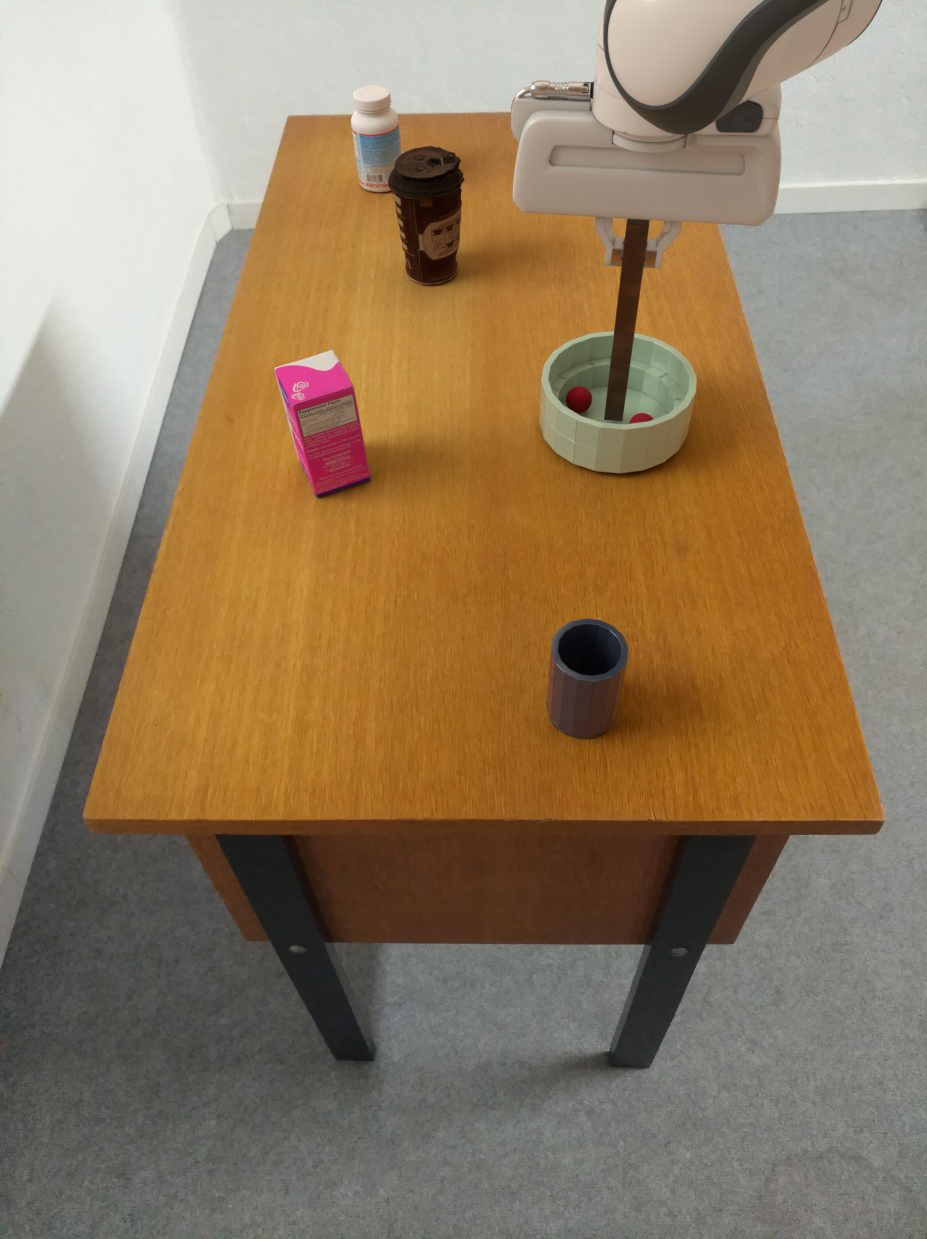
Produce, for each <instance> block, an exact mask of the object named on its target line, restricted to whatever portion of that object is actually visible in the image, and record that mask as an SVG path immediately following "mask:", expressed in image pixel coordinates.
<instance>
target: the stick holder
mask: <svg viewBox="0 0 927 1239" xmlns="http://www.w3.org/2000/svg"><path fill="white" fill-rule="evenodd" d="M629 649H630V648H629V645H628V643H627V640H626V637H625V636H624V634H623V633H621V631H619V629H617V627H615V626H614V625H613V624H611V623H608V622H606V621H603V620H601V619H595V618H588V617H587V618H581V619H580V618H579V619H575V620H571V621H569V622H568V623H566V624H564V625H563V626H561V627H560V628H558V630H557V631H556V633H555V634H554V636H553V637H552V639H551V647H550V657H549V658H550V659H549V670H548V682H547V696H546V711H547V716H548V718H549V720H550V722H551V724H552V725H553V726H554V727H555V728H556V730H558V731H559V732H560V733H563V734H564V735H565V736H568V737H571V738H575V739H584V740H585V739H586V740H587V739H593V738H596V737H599V736H602V735H604V733H606V732H607V731H608V730H609V729H610V728H611V727H612V726H613V725H614V723H615V721H616V720H617V716H618V713H619V712H618V711H619V707H620V702H621V698H622V697H621V696H622V692H623V686H624V681H625V676H626V671H627V667H628V661H629Z"/></svg>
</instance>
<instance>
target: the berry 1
mask: <svg viewBox="0 0 927 1239" xmlns="http://www.w3.org/2000/svg"><path fill="white" fill-rule="evenodd" d="M566 404H567V406H568V408H569V409H570V410H572V411H574V412H575V413H582V412H585V411H586V410H588V409H589V407H590V406H591V404H592V395H591V392H590V391H589V390H588V389H587V388H585V387H583V386H576V387H574V388H572V389H571V390H570V391H569V392H568V393H567V396H566Z"/></svg>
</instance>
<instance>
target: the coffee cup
mask: <svg viewBox="0 0 927 1239" xmlns="http://www.w3.org/2000/svg"><path fill="white" fill-rule="evenodd" d="M461 162H462V160H461V158H460V157H459V156H457V154H456V153H455V152H453V151H449V150H447V149H444V148H442V147H440V146H433V145H425V146H420V147H414V148H411V149H409V150H406V151H405V152H402V154H401V155H400V156H399V157H398V158H397V159H396V161H395V165H394V169H393V170H392V172H391V173H390V176H389V179H388V186H389V188H390V189H391V191H390V192H392V196H393V200H394V204H395V213H396V217H397V222H398V223H397V224H398V228H399V237H400V241H401V249H402V250H403V252H404V261H405V263H404V265H405V266H404V269H405V272H406V275H407V276H408V278H409V279H410V280H411V281H413V282H415V283H417V284H420V285H439V284H442V283H445V282H447V281H449V280H451V279H453V278H454V277H455V276H456V274H457V273H458V271H459V262H458V259H457V254H458V251H459V248H460V242H461V223H462V206H463V200H462V192H463V190H462V184H463V183H464V181H466V179H465V177H464V173H463V171H462V170H461V169H460V163H461Z"/></svg>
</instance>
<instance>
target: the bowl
mask: <svg viewBox="0 0 927 1239" xmlns="http://www.w3.org/2000/svg"><path fill="white" fill-rule="evenodd" d="M613 336H614V330H611V331H600V332H592V333H588V334H585V335H582V336H578V337H575V338H573V339H570V340H568V341H567V342H565V343H564V344H562V345H561V346H559V347H557V348H556V349H554V350H553V352H552V353H551V354H550V355H549V357H548V358H547V359H546V361H545V362H544V364H543V367H542V373H541V378H540V394H539V395H540V396H539V419H538V420H539V421H538V423H539V427H540V430H541V434H542V437H543V439H544V441H545V442H546V443H547V444H548V446H549V447H550V448H551V449H552V451H553V452H554V453H556V454H557V455H558V456H560V457H562V458H563V459H565V460H566V461H568V462H570V463H571V464H573V465H576V466H579V467H582V468H585V469H588V470H591V471H594V472H599V473H601V472H602V473H611V474H612V473H613V474H625V473H633V472H640V471H641V472H643V471H645V470H647V469H648V470H649V469H650V468H654V467H656V466H658V465H661V464H663V463H666V461H668V460H669V459H670V458H671V457H673V456H674V455H675V454H676V453H677V452H679V450H680V449H681V448H682V446H683V444H684V442H685V440H686V439H687V437H688V433H689V427H690V423H691V419H692V414H693V409H694V405H695V401H696V395H697V386H698V384H697V381H698V378H697V377H698V376H697V373H696V372H695V369H694V368H693V365H692V363H691V362H690V360H689V359H688V358H687V357H686V356H684V355H683V354H682V352H680V350H678V349H677V348H676V347H674V346H672V345H670V344H668V343H667V342H665V341H662V340H661V339H659V338H656V337H653V336H648V335H645V334H641V333H638V332H635V333H634V341H633V348H632V355H631V363H630V370H629V377H628V385H627V392H626V399H625V406H624V414H623V421H611V420H604V414H605V406H606V397H607V388H608V380H609V371H610V362H611V354H612V345H613ZM576 386H583V387H585V388H587V389H588V390H589V391H590V392H591V395H592V404H591V406H590V407H589V409H588V410H586V411H585V412H582V413H575V412H574V411H572V410H570V409H569V408H568V406H567V404H566V396H567V393H568V392H569V391H570V390H571V389H572V388H574V387H576ZM639 413H646V414H649V415H650V416H652V417H653V419H654V420H651V421H648V422H640V423H632V424H629V421H630V419H631V418H632V417H633V416H634V415H636V414H639Z"/></svg>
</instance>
